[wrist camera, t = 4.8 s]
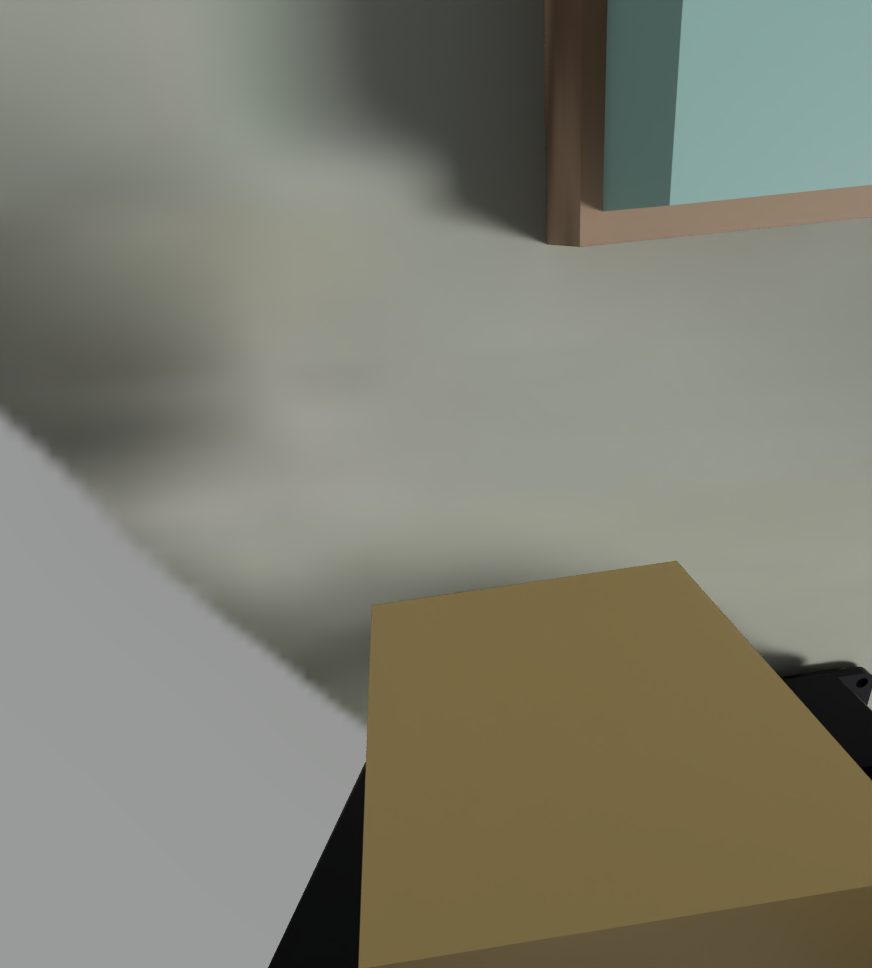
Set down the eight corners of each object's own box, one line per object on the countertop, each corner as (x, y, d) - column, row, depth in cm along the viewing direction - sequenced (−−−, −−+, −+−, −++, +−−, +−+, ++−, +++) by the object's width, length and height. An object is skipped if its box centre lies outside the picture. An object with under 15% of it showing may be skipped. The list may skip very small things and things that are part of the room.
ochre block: (663, 775, 11) (848, 1137, 7) (413, 814, 11) (431, 1211, 7) (676, 560, 9) (953, 873, 5) (371, 605, 9) (358, 969, 5)
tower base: (806, 217, 17) (901, 214, 14) (543, 244, 17) (579, 246, 14) (861, -142, 14) (1000, -251, 11) (538, -116, 14) (584, -221, 11)
